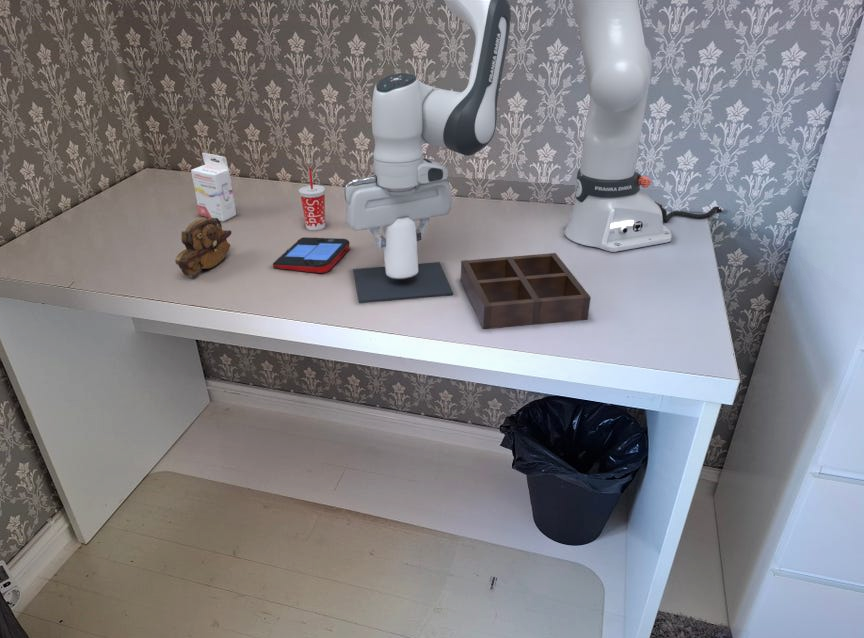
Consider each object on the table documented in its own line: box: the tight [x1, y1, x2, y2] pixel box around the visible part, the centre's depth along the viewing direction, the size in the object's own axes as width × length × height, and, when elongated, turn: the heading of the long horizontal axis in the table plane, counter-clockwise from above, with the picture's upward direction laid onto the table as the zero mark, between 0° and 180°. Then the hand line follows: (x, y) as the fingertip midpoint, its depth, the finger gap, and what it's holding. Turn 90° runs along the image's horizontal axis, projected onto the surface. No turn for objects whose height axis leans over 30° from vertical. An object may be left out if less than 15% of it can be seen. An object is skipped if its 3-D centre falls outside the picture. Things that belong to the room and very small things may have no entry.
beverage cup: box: [298, 167, 326, 231], centre depth 157 cm, size 6×6×14 cm
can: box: [381, 216, 419, 279], centre depth 130 cm, size 6×6×12 cm
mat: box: [352, 261, 454, 304], centre depth 134 cm, size 18×14×1 cm
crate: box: [460, 252, 592, 330], centre depth 125 cm, size 19×19×4 cm
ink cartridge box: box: [190, 152, 237, 222], centre depth 165 cm, size 9×5×15 cm, turn 58°
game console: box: [272, 236, 351, 274], centre depth 145 cm, size 14×13×2 cm
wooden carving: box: [175, 217, 232, 276], centre depth 141 cm, size 16×5×10 cm, turn 160°
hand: (400, 243), depth 130 cm, fingers closed on can, 6 cm apart
